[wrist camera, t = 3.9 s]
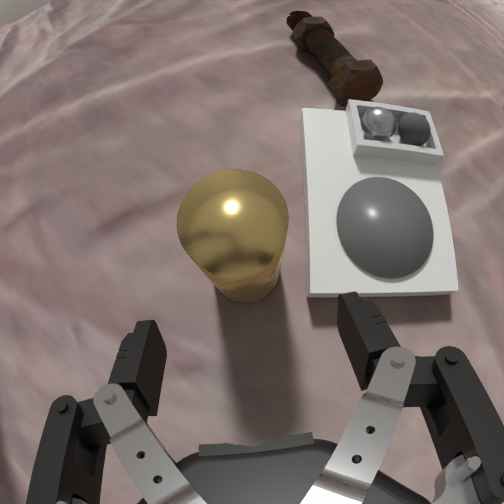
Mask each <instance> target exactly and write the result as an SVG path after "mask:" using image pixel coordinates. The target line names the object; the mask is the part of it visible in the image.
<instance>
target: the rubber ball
mask: <svg viewBox="0 0 504 504" xmlns="http://www.w3.org/2000/svg"><path fill="white" fill-rule="evenodd" d="M398 132H399V135H400V137H401V139H402V140H403V141H404V142H405V143H407V144H408V145H414V146H421V145H423V144H425V143H426V142H427V141H428V139H429V137H430V134H431V128H430V125H429V122H428V121H427V119H426V118H425V117H424V116H422V115H421V114H418V113H414V112H411V113H407V114H405V115H404V116H402V117H401V119H400V120H399V123H398Z"/></svg>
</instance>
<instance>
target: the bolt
mask: <svg viewBox="0 0 504 504" xmlns="http://www.w3.org/2000/svg"><path fill="white" fill-rule="evenodd" d="M289 15H291V16H288V17H287V24H288V26H289V27H290V28H291V29H292V30H293V33H292V36H293V37H294V39H295V40H296V41H297V43H298V44H299V45H300V47H301V48H302V49H303V50H304V51H306V52H313V54H314V55H315V56H316V57H317V58H318V60H319V61H320V62H321V63H322V65H323V66H324V67H325V68H326V69H327V70H328V72H329V73H330V74H331V76H332V79H331V80H330V81H329V83H328V84H329V86H330V88H331V89H332V91H333V92H334V94H335V96H336V97H337V99H338V100H339V102H340V103H341V104H342V105H343V106H347V104H348V100H349V99H351V100H360V101H369V100H371V99H372V98H374V97H375V96H376V95H377V94H378V92H379V91H380V89H381V87H382V84H383V79H382V76H381V74H380V71H379V69H378V68H377V66H376V65H375V64H374V63H373V62H372V60H371V59H370V60H359V61H358V60H357V59H355V58H354V57H353V56H352V55H351V54H350V53H349V52H348V51H347V50H346V49H345V47H344V46H343V45H342V44H340V42H339V41H338V40H337V39H335V38H334V32H333V30H332V28H331V27H330V25H329V24H328V22H327V21H326V20H325V19H324V18H323V17H313V16H312V15H310V14H309V13H308V12H305V11H293V12H291V13H290V14H289Z"/></svg>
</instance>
